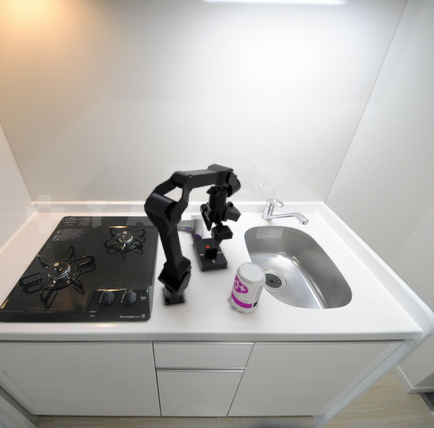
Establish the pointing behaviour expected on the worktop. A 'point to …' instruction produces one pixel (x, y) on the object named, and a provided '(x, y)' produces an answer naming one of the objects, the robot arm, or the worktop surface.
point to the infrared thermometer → (192, 227)
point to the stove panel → (209, 261)
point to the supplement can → (247, 287)
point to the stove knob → (211, 250)
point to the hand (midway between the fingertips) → (212, 238)
